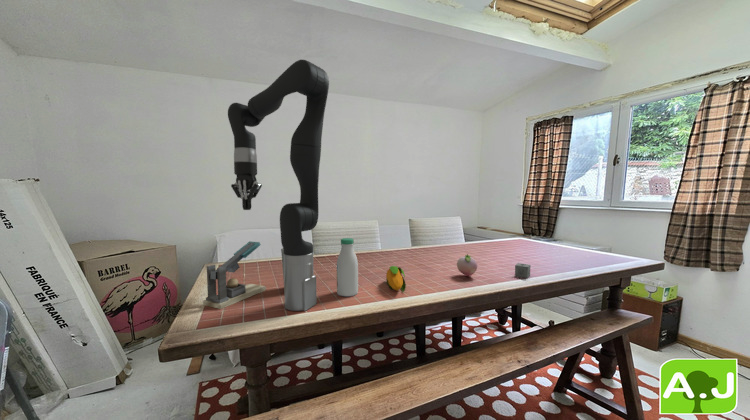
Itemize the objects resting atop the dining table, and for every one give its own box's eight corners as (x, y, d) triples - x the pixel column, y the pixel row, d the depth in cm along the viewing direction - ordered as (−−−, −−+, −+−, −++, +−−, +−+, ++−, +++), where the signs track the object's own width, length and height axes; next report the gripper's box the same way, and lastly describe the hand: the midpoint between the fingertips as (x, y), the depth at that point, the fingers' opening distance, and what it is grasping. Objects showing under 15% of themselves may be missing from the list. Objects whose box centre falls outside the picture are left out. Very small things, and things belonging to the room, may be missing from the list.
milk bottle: (362, 293, 103) (362, 238, 102) (346, 298, 97) (346, 241, 96) (348, 288, 108) (348, 236, 107) (332, 293, 102) (332, 238, 101)
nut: (241, 287, 98) (240, 277, 98) (232, 290, 95) (231, 280, 95) (233, 286, 100) (233, 276, 99) (224, 289, 96) (224, 279, 96)
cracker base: (265, 290, 106) (265, 256, 105) (220, 309, 89) (219, 269, 88) (249, 287, 109) (249, 254, 108) (203, 305, 92) (201, 266, 91)
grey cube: (530, 275, 125) (530, 264, 124) (527, 278, 121) (527, 267, 121) (517, 273, 128) (518, 263, 128) (514, 276, 124) (515, 265, 124)
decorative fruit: (455, 273, 129) (455, 251, 128) (473, 273, 127) (474, 252, 127) (458, 279, 119) (458, 256, 119) (478, 280, 118) (479, 256, 118)
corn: (402, 261, 118) (408, 275, 98) (403, 279, 119) (410, 296, 99) (384, 263, 118) (387, 277, 98) (385, 281, 119) (389, 298, 99)
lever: (259, 270, 105) (260, 242, 105) (218, 280, 89) (219, 246, 89) (249, 269, 107) (250, 241, 107) (207, 278, 91) (209, 245, 91)
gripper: (267, 162, 102) (268, 209, 103) (240, 163, 107) (242, 209, 108) (251, 159, 95) (252, 210, 96) (223, 161, 100) (224, 210, 101)
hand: (246, 209), depth 102 cm, fingers closed
